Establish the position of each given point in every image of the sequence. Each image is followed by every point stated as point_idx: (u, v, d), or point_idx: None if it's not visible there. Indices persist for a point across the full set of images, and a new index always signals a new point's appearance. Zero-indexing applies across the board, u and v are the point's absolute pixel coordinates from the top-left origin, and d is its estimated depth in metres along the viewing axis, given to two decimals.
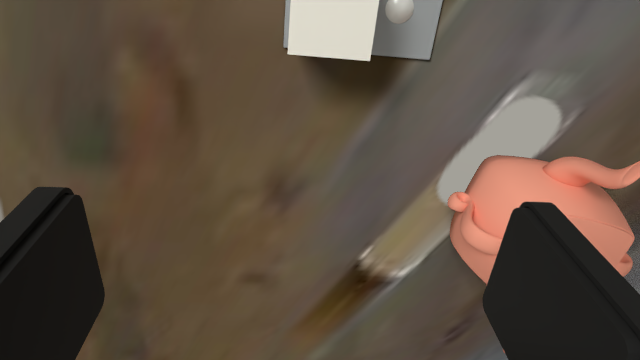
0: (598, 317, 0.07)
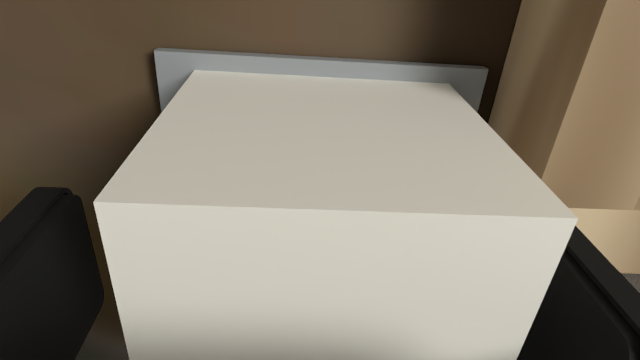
0: (599, 318, 0.07)
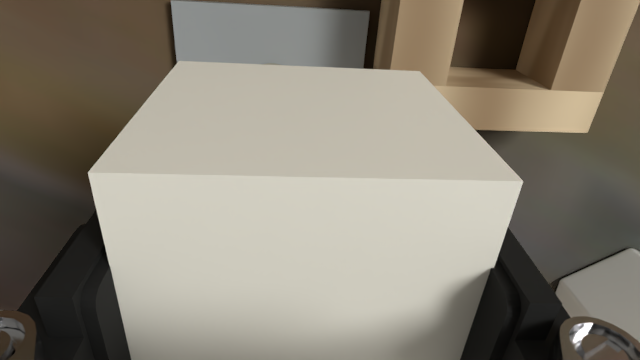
0: (490, 277, 0.07)
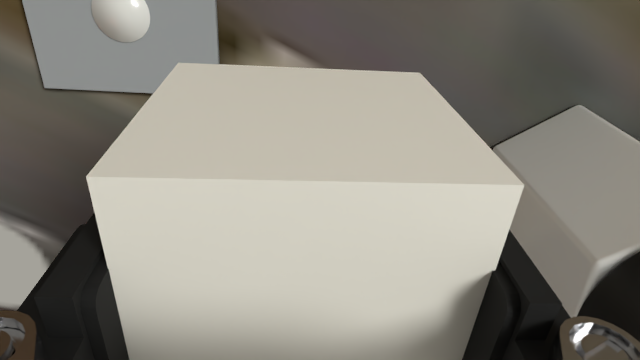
0: (490, 277, 0.07)
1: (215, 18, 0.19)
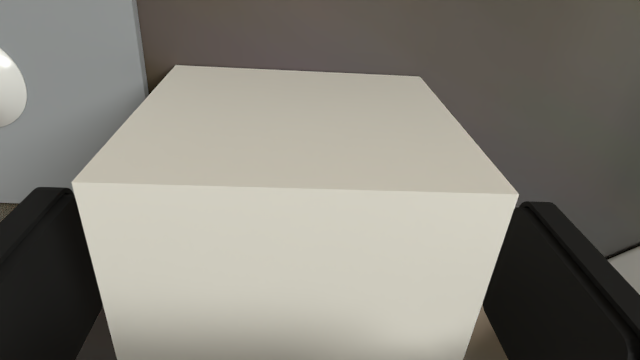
0: (598, 317, 0.07)
1: (142, 88, 0.11)
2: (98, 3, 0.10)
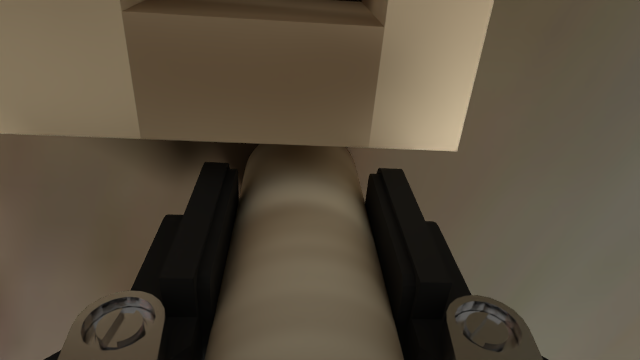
0: (395, 259, 0.08)
1: None
2: None
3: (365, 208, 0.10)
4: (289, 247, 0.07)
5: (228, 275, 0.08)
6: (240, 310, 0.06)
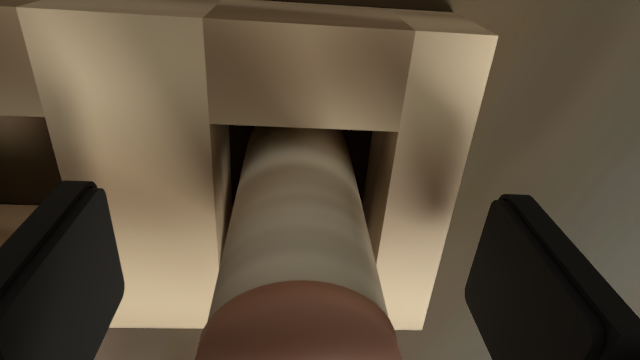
0: (567, 303, 0.07)
1: None
2: None
3: (353, 174, 0.12)
4: (286, 195, 0.09)
5: (234, 221, 0.09)
6: (245, 241, 0.08)
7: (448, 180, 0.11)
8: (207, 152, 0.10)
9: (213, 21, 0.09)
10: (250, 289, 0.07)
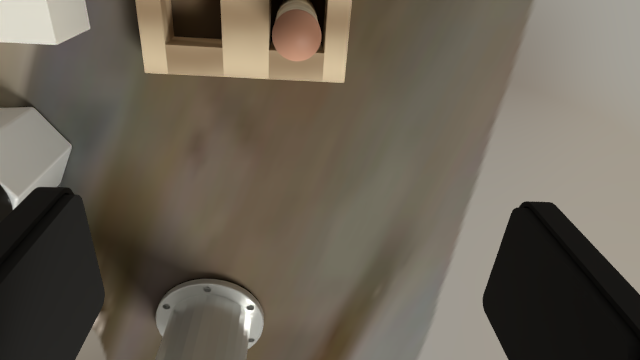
0: (598, 317, 0.07)
1: None
2: None
3: (315, 13, 0.34)
4: (293, 4, 0.31)
5: (278, 14, 0.31)
6: (282, 11, 0.30)
7: (346, 13, 0.33)
8: (268, 0, 0.32)
9: None
10: (285, 11, 0.29)
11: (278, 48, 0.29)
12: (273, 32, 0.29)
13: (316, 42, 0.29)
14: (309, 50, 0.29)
